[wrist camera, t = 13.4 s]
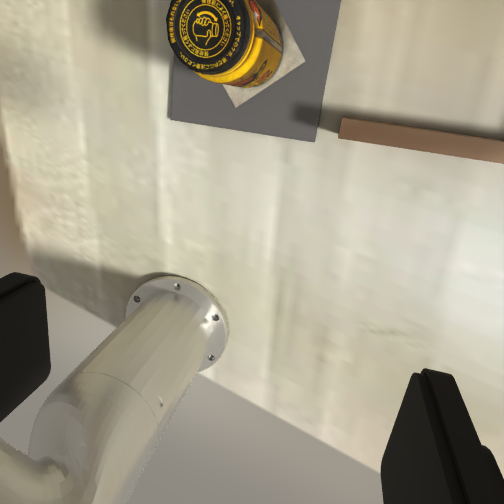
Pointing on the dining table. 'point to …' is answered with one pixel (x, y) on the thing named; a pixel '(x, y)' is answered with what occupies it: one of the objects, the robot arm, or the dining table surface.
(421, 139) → the frame
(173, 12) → the condiment
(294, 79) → the mat
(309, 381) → the dining table surface
